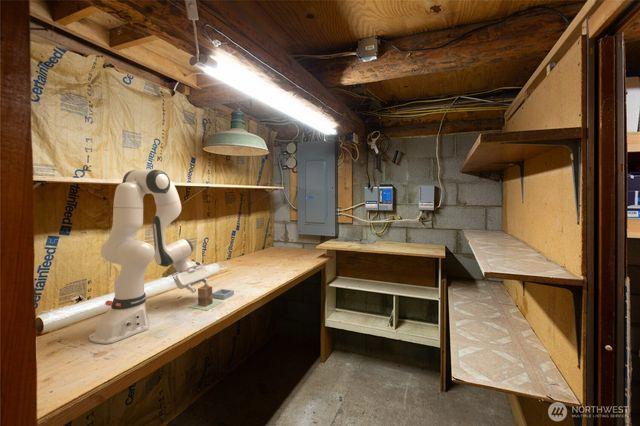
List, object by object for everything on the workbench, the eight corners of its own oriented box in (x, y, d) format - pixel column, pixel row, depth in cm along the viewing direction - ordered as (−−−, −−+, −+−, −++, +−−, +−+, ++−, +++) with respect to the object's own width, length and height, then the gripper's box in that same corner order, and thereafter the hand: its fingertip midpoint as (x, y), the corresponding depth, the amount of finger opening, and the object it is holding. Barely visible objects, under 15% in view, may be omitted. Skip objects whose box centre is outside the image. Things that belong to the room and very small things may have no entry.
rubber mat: (206, 310, 152) (206, 309, 152) (188, 307, 156) (188, 306, 156) (222, 302, 163) (222, 301, 163) (204, 299, 167) (204, 298, 167)
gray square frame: (224, 299, 167) (224, 295, 167) (211, 297, 170) (211, 293, 170) (234, 294, 175) (233, 290, 175) (221, 292, 178) (221, 288, 178)
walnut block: (205, 306, 156) (205, 289, 156) (198, 305, 158) (197, 288, 157) (212, 303, 161) (212, 286, 160) (205, 301, 163) (204, 285, 162)
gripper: (173, 270, 152) (189, 291, 149) (203, 261, 171) (217, 280, 168) (167, 277, 154) (182, 299, 151) (196, 268, 173) (211, 287, 170)
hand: (201, 289), depth 160 cm, fingers open, 8 cm apart
